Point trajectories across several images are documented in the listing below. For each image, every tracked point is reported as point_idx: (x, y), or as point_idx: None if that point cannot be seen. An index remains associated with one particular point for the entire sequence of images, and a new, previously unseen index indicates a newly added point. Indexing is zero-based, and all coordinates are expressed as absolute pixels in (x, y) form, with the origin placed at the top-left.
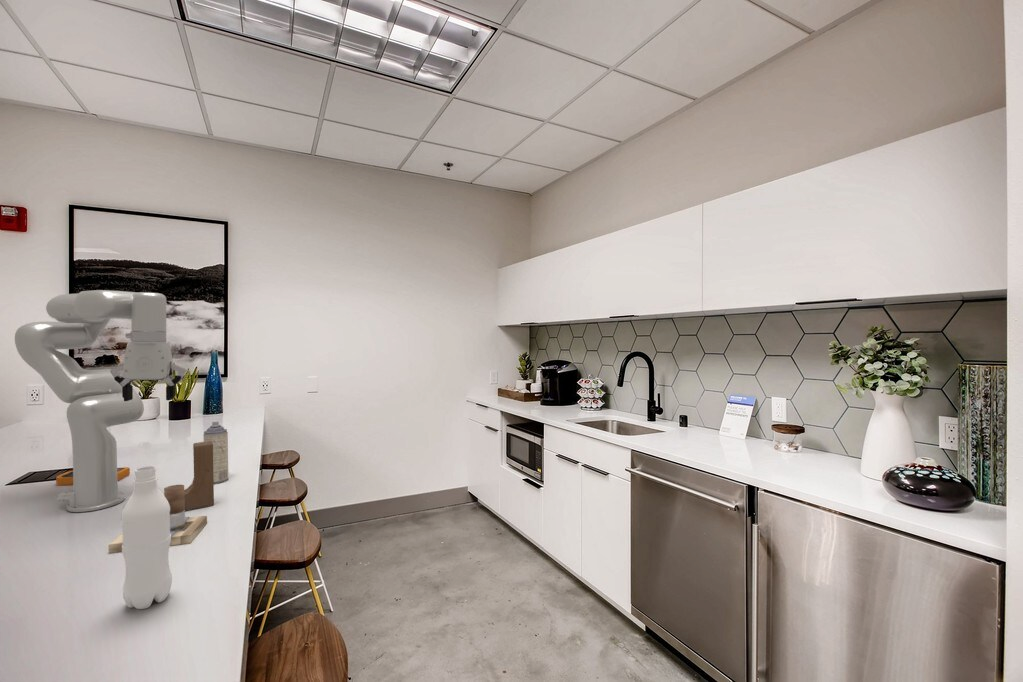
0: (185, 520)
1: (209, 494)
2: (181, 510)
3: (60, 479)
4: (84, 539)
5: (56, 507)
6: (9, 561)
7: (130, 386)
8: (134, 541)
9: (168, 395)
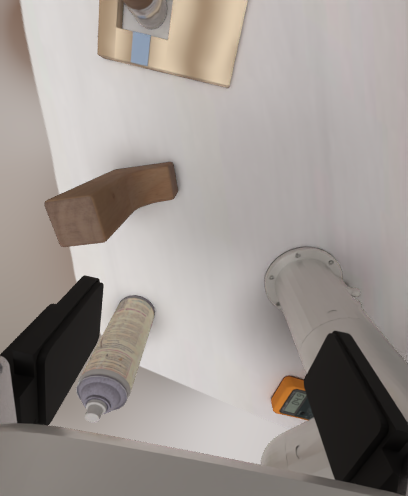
0: (132, 36)
1: (111, 172)
2: None
3: None
4: (302, 90)
5: None
6: (405, 31)
7: (353, 461)
8: None
9: (70, 292)
